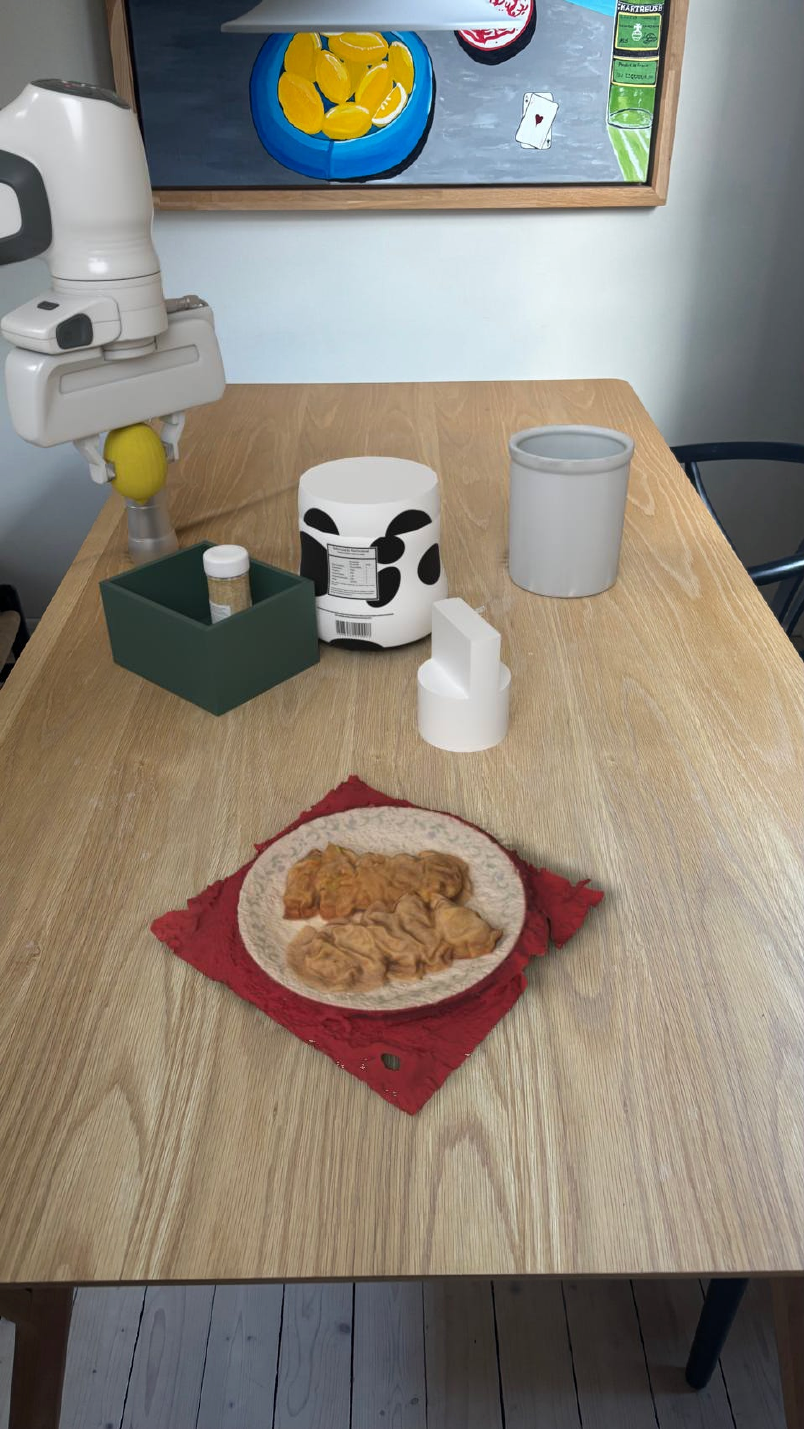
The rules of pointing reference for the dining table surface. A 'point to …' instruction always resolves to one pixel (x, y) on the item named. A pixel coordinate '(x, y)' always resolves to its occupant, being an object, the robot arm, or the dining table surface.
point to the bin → (210, 629)
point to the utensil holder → (567, 508)
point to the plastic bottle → (150, 528)
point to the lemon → (136, 461)
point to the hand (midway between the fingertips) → (136, 471)
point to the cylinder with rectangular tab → (463, 682)
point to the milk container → (372, 550)
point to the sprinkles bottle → (227, 580)
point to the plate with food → (379, 934)
